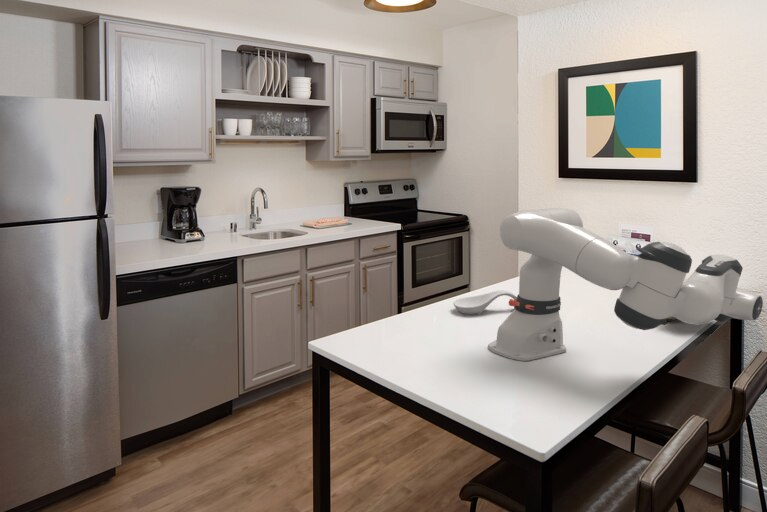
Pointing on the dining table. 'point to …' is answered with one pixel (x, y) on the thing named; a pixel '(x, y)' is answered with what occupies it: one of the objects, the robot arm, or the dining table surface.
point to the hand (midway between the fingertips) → (663, 286)
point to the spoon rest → (479, 302)
